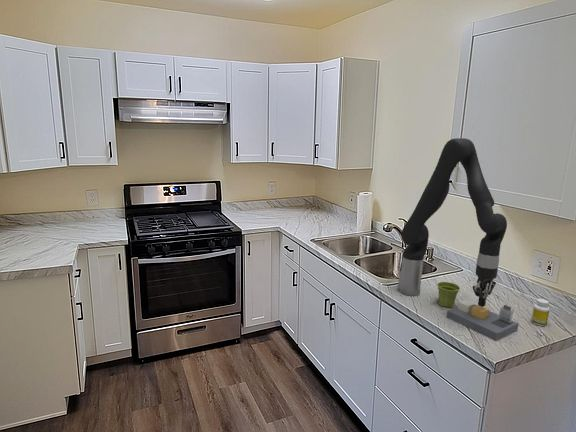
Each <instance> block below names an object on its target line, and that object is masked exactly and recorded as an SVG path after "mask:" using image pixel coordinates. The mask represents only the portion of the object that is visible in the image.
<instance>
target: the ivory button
mask: <svg viewBox="0 0 576 432" xmlns="http://www.w3.org/2000/svg"><path fill="white" fill-rule="evenodd" d="M475 305H476V304H475V303H474V302H471V301H470V300H467V299H463V300H460V301H458V304H457V307H458V309H459V310H461V311H463V312H465V313H471V312H472V308H473V307H475Z"/></svg>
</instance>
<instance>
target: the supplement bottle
mask: <svg viewBox="0 0 576 432" xmlns="http://www.w3.org/2000/svg"><path fill="white" fill-rule="evenodd" d="M532 307H533V308H532V313H531V317H530V318H531V319H530V322H531V323H532V324H534V325H536V326H539V327H545V326H547V323H548V319H549V314H550V307H549V300H547V299H544V298H537V299H536V303H535V304H534V305H533V306H532Z"/></svg>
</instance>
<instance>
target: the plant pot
mask: <svg viewBox="0 0 576 432" xmlns="http://www.w3.org/2000/svg"><path fill="white" fill-rule="evenodd" d="M436 286H437V289H438V304H439V305H440V306H442V307H447V308H452V307H453V308H454V305H455V302H456V299H457V294H458V293H459V291H460V290H461V287H460V285H458V284H457V283H454V282H449V281H440V282H438V283H437V284H436Z"/></svg>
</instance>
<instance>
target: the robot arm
mask: <svg viewBox="0 0 576 432" xmlns="http://www.w3.org/2000/svg"><path fill="white" fill-rule="evenodd" d="M478 157H479V156H478V154H477V150H476V147H475V144H474V142H473V141H472V140H471V139H469V138H460V137H459V138H457V137H456V138H451V139H449V140H448V141H447V142H446V143H445V145H444V146H443V148H442V151H441V153H440V156H439V158H438V162H437V164H436V166H435V168H434V171H433V172H432V174H431V177H430V178H429V181H428V183H427V184H426V186H425V188H424V190H423V192H422V194H421V195H420V199H419V200H418V202H417V204H416V206H415V208H414V210H413V212H412V213H411V215H410V217H409V218H408V220H407V222H406V223H405V224H404V226H403V227H402V229H401V234H400V235H401V240H402V242H403V243H404V244H405V245H407V247H406V248H405V249H404V250H403V252H402V259H401V260H402V262H401V270H399V273H398V281H397V282H398V283H397V291H399V293H401V294H402V295H404V296H409V297H417V296H419V295H420V293H421V284H422V276H423V267H424V260H425V259H424V258H425V257H424V256H425V255H426V253H427V250H428V244H429V243H428V242H429V237H430V233H429V229H428V227H427V225H426V222H427V221H428V220H429V219H430V218H431V217H432V216H433V215H434V214H435V213H436V212H438V210H439V209H440V208H441V207H442V205H443V204H444V202H445V200H446V198H447V196H448V194H449V192H450V184H451V183H450V181H451V176H452V173H454V171H455V168H456V167H457V166H458V164H459V163H460V164H461V166H462V167H463V169H464V172H465V174H466V175H465V176H466V183H467V184H466V185H467V191H468V192H467V193H468V195H469V198H470V199H471V202H472V204H473V206H474V208H475V214H476V220H477V224H478V226H479V228H480V229H481V231H482V232H484V233H485V235H484V237H483V238H482V239H481V240H480V242H479V248H478V255H477V257H476V258H477V259H476V266H475V267H476V268H475V275H476V276H477V280H476V285H473V286H472V290H473V293H474V295H475V297H478V301H477V302H478V303H477V306H478V305H479V306H481V307H486V304H487V298H488V297H489V296H490V295H491V294H492V292H493V290H494V288H495V286H496V285H497V282H496V281H494V279H495V280H496V278H497V277H498V271H499V263H500V251H501V244H502V241H503V239H504V237H505V234H506V231H507V228H508V221H507V217H506V216H504V214H502V213H494V209H493V207H494V205H495V199H494V197H493V196H492V194H491V191H490V189H489V187H488V185H487V183H486V180H485V177H484V174H483V172H482V168H481V165H480V161H479V158H478Z"/></svg>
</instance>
